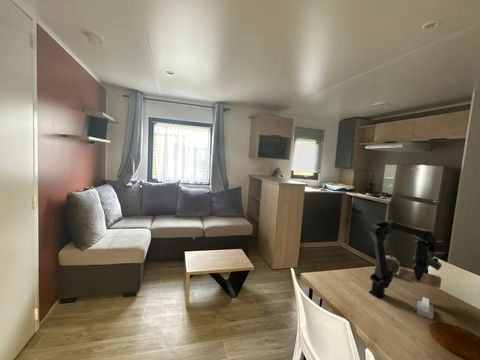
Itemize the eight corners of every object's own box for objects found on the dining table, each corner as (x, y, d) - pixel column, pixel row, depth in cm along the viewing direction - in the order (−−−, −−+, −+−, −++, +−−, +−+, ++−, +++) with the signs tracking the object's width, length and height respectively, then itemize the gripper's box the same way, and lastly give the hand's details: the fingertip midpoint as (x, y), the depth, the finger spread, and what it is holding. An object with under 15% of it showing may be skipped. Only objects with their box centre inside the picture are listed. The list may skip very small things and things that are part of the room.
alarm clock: (399, 275, 150) (401, 252, 149) (397, 278, 146) (400, 254, 145) (380, 269, 158) (383, 247, 156) (378, 271, 154) (381, 249, 152)
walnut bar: (398, 276, 127) (399, 268, 127) (398, 274, 130) (399, 266, 130) (440, 288, 118) (441, 279, 117) (438, 285, 121) (439, 276, 120)
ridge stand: (416, 313, 110) (418, 304, 110) (417, 304, 118) (418, 295, 118) (432, 319, 107) (434, 309, 106) (431, 309, 114) (433, 300, 114)
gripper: (443, 261, 110) (439, 291, 111) (439, 251, 125) (436, 278, 126) (414, 255, 117) (411, 283, 118) (414, 246, 132) (411, 271, 133)
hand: (418, 279), depth 124 cm, fingers closed on walnut bar, 4 cm apart
